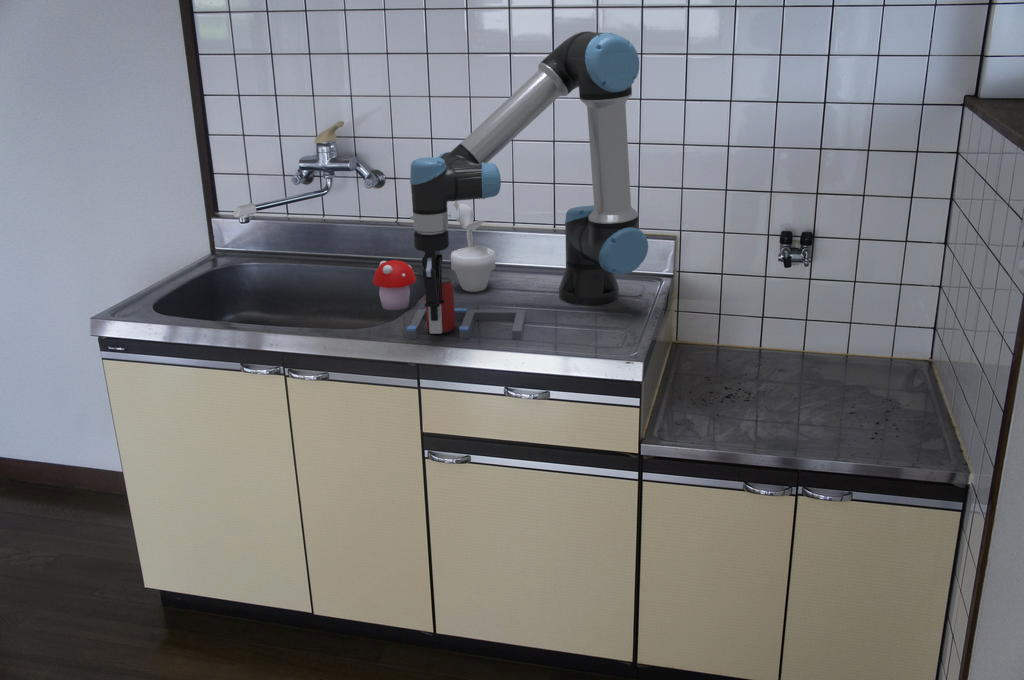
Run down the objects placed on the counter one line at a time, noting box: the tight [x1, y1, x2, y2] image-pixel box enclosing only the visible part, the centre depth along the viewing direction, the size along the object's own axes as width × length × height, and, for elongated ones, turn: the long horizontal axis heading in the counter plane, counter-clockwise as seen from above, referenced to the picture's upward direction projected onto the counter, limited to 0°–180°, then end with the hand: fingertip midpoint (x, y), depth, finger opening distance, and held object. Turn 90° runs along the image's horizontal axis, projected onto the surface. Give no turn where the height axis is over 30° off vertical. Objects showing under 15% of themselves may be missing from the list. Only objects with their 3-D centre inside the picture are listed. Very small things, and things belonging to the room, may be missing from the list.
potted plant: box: [448, 201, 496, 293], centre depth 250 cm, size 13×12×25 cm
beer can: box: [424, 276, 456, 334], centre depth 224 cm, size 7×7×12 cm
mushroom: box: [372, 259, 417, 311], centre depth 241 cm, size 11×11×12 cm
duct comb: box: [406, 307, 526, 340], centre depth 226 cm, size 26×14×2 cm, turn 85°
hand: (436, 332), depth 219 cm, fingers closed
